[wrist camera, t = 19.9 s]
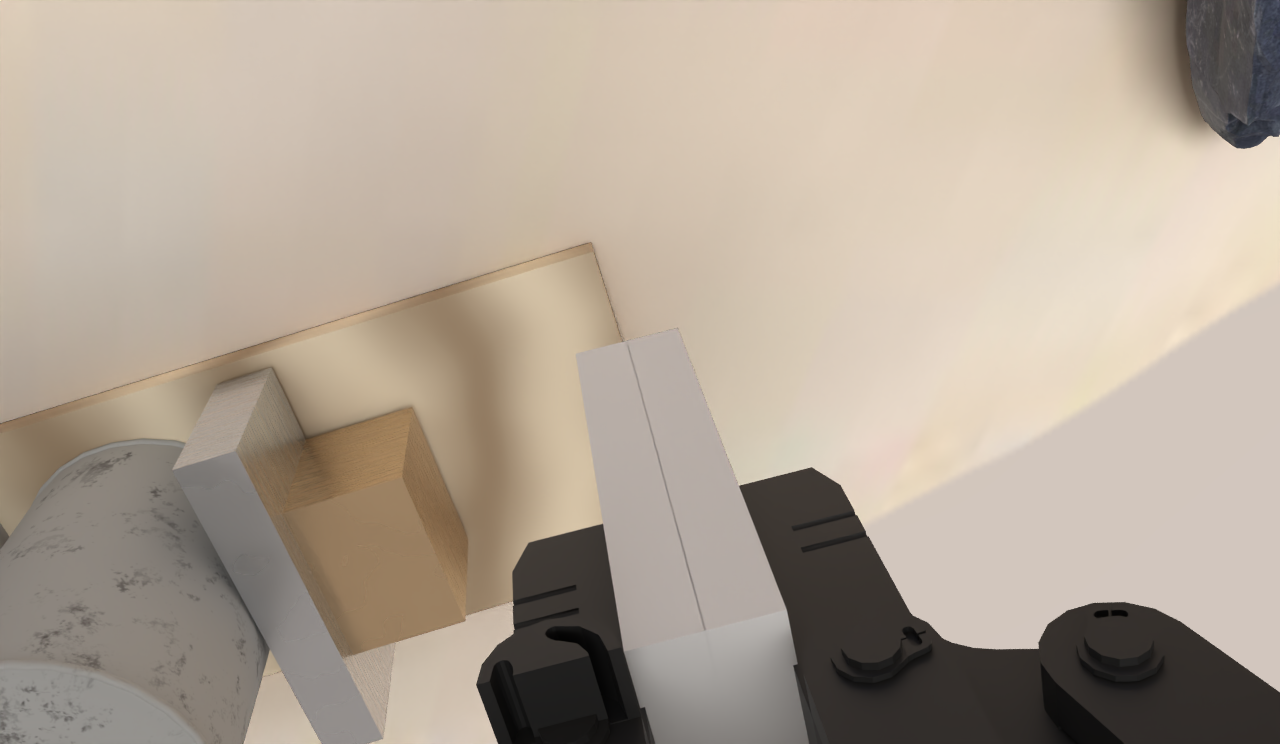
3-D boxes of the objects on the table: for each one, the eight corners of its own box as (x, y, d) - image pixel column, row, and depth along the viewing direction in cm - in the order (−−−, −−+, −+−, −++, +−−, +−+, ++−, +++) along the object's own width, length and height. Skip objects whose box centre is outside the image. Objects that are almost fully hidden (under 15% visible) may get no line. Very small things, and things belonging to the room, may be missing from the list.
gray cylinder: (311, 460, 41) (243, 687, 30) (280, 667, 44) (209, 937, 33) (30, 417, 39) (-156, 642, 28) (21, 637, 43) (-145, 913, 31)
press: (26, 733, 46) (-49, 875, 39) (-158, 472, 40) (-280, 588, 34) (683, 534, 45) (713, 644, 39) (590, 242, 40) (609, 316, 33)
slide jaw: (348, 644, 44) (328, 755, 39) (217, 384, 39) (172, 470, 33) (493, 600, 44) (493, 705, 39) (381, 333, 39) (363, 411, 33)
